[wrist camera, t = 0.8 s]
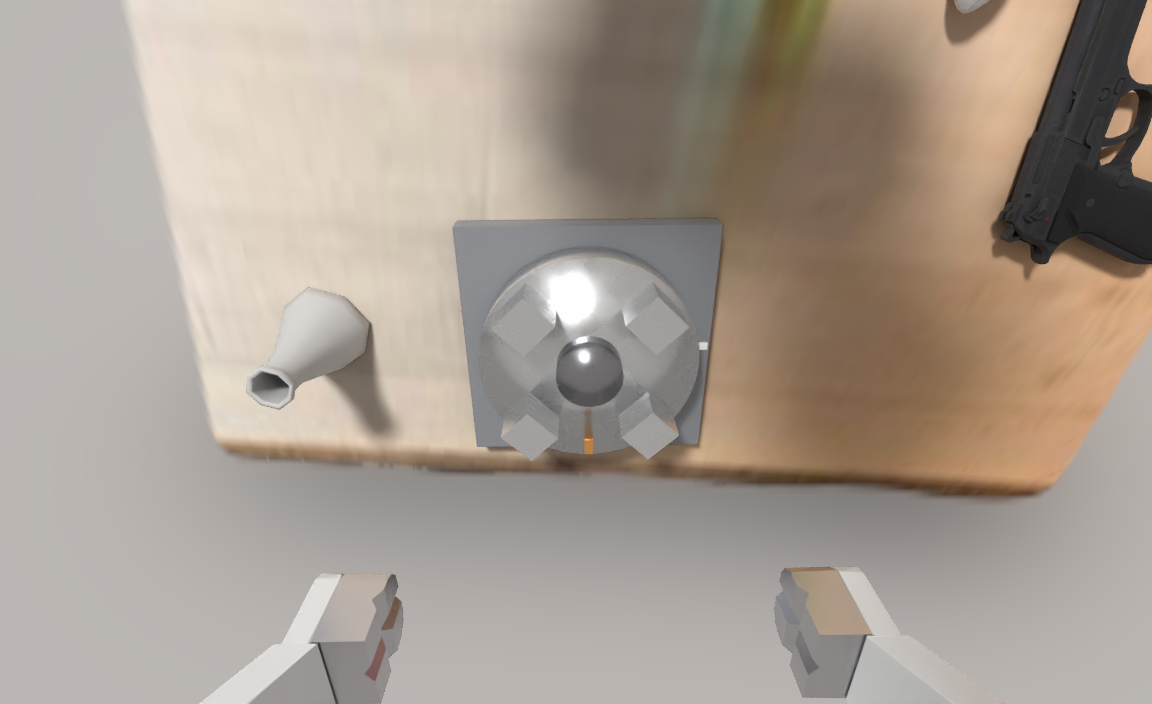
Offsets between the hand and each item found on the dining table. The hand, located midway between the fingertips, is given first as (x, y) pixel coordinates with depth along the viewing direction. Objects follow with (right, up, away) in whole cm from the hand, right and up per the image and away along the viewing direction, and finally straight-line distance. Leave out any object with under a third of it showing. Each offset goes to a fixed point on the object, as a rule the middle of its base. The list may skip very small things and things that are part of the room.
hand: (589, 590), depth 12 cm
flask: (-21, +7, +35) cm, 42 cm away
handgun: (+39, +22, +28) cm, 53 cm away
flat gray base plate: (+1, +6, +35) cm, 36 cm away
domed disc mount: (+1, +6, +34) cm, 34 cm away
